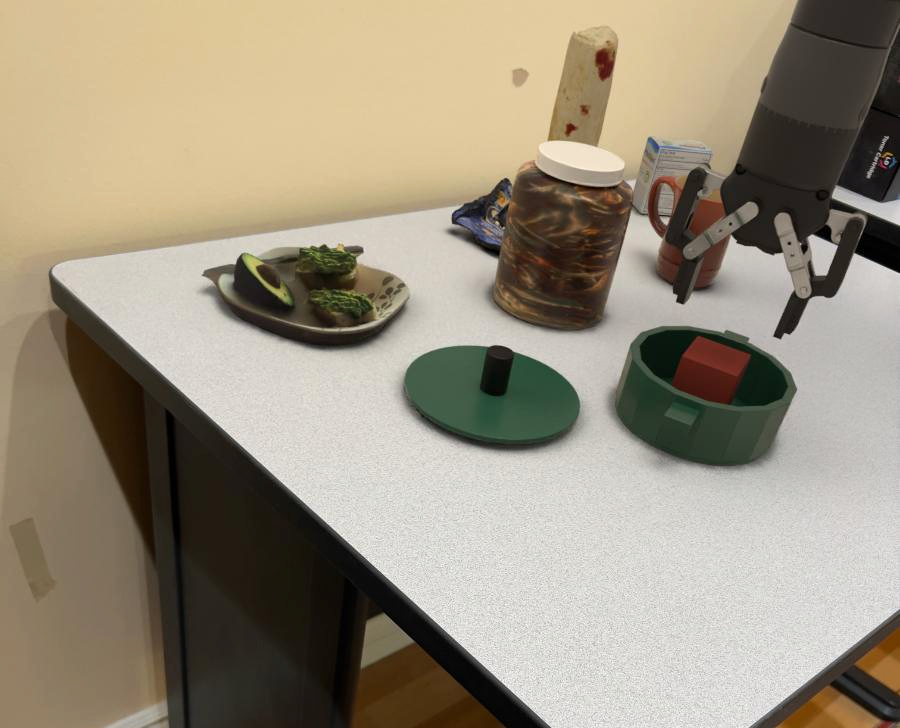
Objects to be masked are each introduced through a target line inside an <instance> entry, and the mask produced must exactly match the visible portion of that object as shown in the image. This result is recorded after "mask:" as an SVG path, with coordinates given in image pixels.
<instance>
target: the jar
mask: <svg viewBox="0 0 900 728" xmlns="http://www.w3.org/2000/svg"><path fill="white" fill-rule="evenodd" d="M625 168H626V162H625V161H624V160H623V159H622V158H621V157H620V156H618V155H617V154H615V153H613V152H611V151H609V150H606V149H604V148H601V147H598V146H597V147H595V146H591V145H587V144H583V143H578V142H571V141H548V142H547V141H544V142H542V143H540V144H539V145H538V148H537V153H536V158H535V159H533V160H529V161H526V162H523V163H522V164H521V165H520V166H519V167H518V169H517V171H516V174H515V177H514V181H513V184H512V185H513V189H512V194H511V198H510V203H509V208H508V213H507V218H506V223H505V228H504V234H503V239H502V244H501V250H500V251H499V255H498V260H497V267H496V271H495V277H494V283H493V289H492V296H493V299H494V301H495V303H496V304H497V305H498V306H499V307H500V308H501V309H502V310H504V311H505V312H507V313H508V314H510V315H512V316H513V317H516V318H517V319H520V320H522V321H525V322H528V323H530V324H534V325H537V326H541V327H546V328H551V329H559V330H582V329H586V328H591V327H593V326H595V325H597V324H598V323H599V322H601V320H602V318H603V316H604V313H605V309H606V305H607V303H608V299H609V296H610V292H611V288H612V284H613V281H614V278H615V275H616V271H617V268H618V267H617V266H618V263H619V260H620V255H621V253H622V250H623V245H624V241H625V238H626V233H627V229H628V226H629V222H630V218H631V214H632V210H633V206H634V205H633V199H634V193H633V190H634V188H632V186H631V185H630V184H629V183H628V182H627V181H626V180H624V179H623V176H624V172H625Z"/></svg>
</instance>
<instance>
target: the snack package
mask: <svg viewBox="0 0 900 728" xmlns="http://www.w3.org/2000/svg"><path fill="white" fill-rule="evenodd" d="M513 185H514V184H512V182H511V180H510V179H509V178H508V177H504V178H503V179H501V180H500V181H499V182H498V183H497V184H496V185H495V186H494V188H492V190H491V191H490V193H488V194H486V195H481V196H480V197H478V198H476V199H474V200H473V201H471V202H470V201H469V202H465V203H463V205H461V207H459V208H458V209H455V210H454V211H453V212H452V213H451V225H454V226H456V227H457V228H458V226H459V227H461V228H465V229H467V230H468V231H470V232H471V233H473V235H474V238H475V239H476V242H475V241H474V244H476V243H477V245H479V246H482V247H483V248H487V249H489V250H493V251H494V250H495V251H497V252H500V250H501V244H502V239H503V234H504V228H505V223H506V218H507V213H508V208H509V203H510V198H511V194H512V189H513ZM452 231H453V232H455V230H454V229H453V230H452Z"/></svg>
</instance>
